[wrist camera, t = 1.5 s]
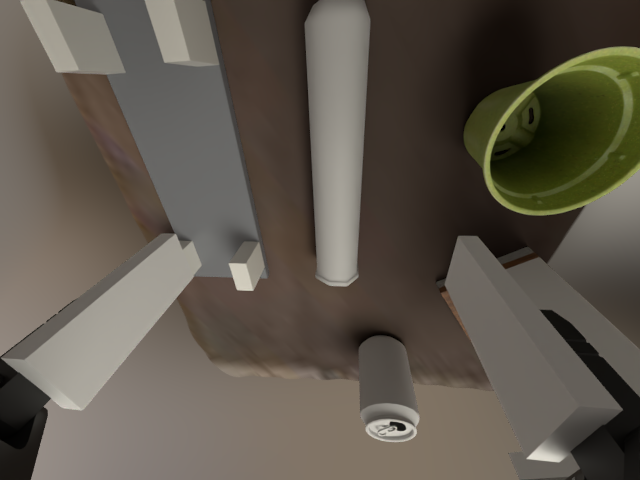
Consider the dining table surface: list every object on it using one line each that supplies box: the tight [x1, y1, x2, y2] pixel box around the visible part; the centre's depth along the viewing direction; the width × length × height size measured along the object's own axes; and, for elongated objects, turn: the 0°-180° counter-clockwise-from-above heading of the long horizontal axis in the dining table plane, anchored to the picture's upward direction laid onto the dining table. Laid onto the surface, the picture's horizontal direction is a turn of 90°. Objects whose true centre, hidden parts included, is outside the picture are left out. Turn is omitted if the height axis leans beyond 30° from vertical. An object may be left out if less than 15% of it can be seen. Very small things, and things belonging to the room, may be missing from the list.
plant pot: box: [463, 46, 640, 215], centre depth 18 cm, size 9×9×9 cm
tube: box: [305, 0, 370, 286], centre depth 24 cm, size 5×5×25 cm
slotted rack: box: [20, 0, 269, 291], centre depth 25 cm, size 11×30×6 cm, turn 3°
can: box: [359, 335, 420, 442], centre depth 35 cm, size 8×8×12 cm
